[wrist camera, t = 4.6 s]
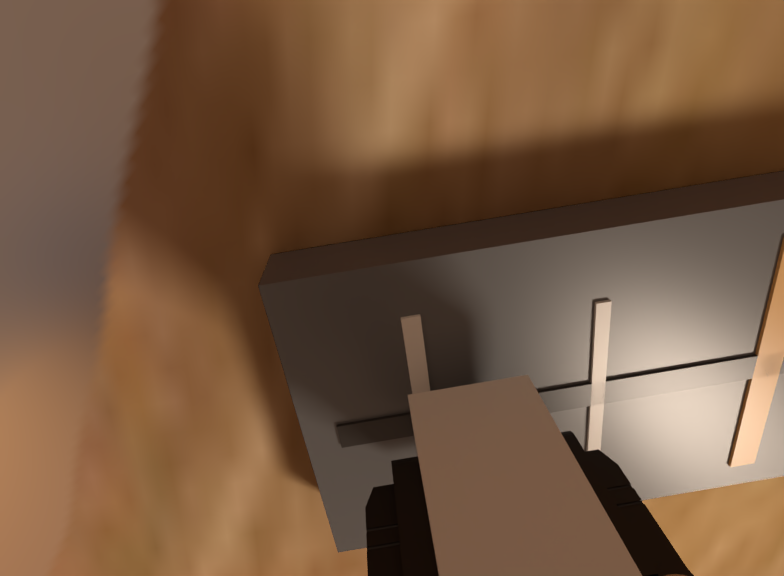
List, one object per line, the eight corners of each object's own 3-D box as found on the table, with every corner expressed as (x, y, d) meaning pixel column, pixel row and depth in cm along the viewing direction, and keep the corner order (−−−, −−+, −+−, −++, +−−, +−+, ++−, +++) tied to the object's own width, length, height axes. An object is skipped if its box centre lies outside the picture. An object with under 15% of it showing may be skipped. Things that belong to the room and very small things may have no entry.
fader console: (270, 254, 13) (257, 287, 11) (868, 156, 13) (954, 173, 11) (339, 501, 17) (337, 554, 16) (786, 425, 18) (838, 469, 16)
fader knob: (403, 372, 12) (459, 687, 6) (516, 354, 12) (683, 647, 6) (421, 480, 14) (477, 808, 8) (519, 463, 14) (651, 777, 8)
